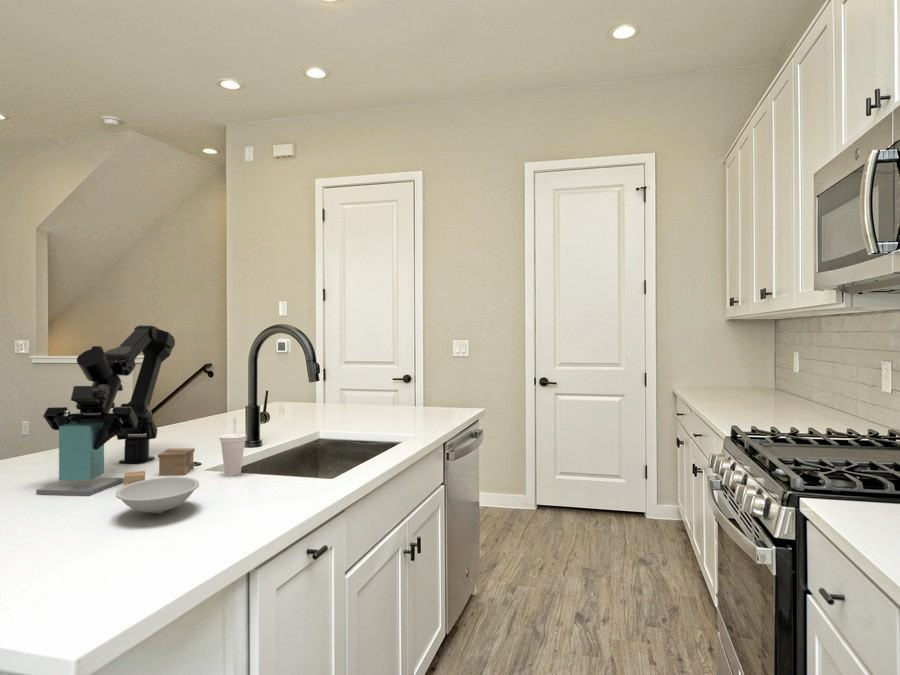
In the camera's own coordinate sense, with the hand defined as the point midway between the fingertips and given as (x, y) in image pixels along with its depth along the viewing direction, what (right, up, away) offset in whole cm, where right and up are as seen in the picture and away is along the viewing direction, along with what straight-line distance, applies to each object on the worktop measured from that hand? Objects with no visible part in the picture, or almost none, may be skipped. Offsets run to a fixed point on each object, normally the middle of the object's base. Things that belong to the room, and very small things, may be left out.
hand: (79, 448), depth 132 cm
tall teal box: (0, -7, +1) cm, 7 cm away
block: (+13, -9, 0) cm, 16 cm away
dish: (+26, -10, -16) cm, 32 cm away
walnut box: (+14, -9, +17) cm, 24 cm away
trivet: (0, -9, +1) cm, 9 cm away
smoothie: (+29, -9, +16) cm, 34 cm away
